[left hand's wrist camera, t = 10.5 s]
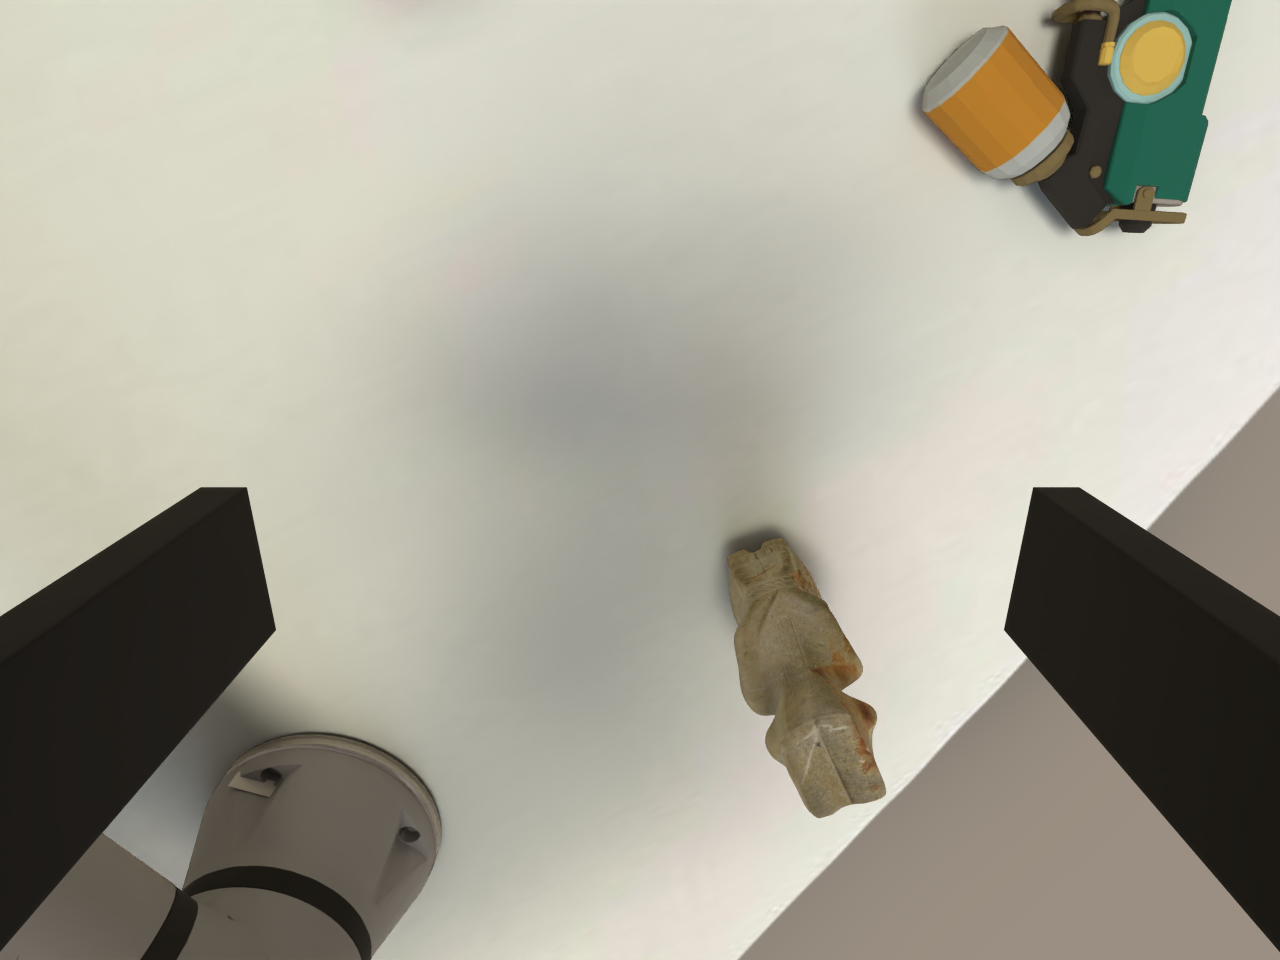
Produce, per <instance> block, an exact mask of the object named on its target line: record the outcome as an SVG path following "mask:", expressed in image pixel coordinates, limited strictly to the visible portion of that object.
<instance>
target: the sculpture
mask: <svg viewBox="0 0 1280 960" xmlns="http://www.w3.org/2000/svg"><path fill="white" fill-rule="evenodd" d="M728 565H729V595H730V600H731V605H732V610H733V614H734V617H735V619H736V622H737V624H738V628H737V630H736V632H735V635H734V646H735V652H736V657H737V662H738V668H739V677H740V685H741V690H742V694H743V697H744V699H745V701H746V702H747V704H748V705H749V707H750V708H751V709H752V710H753V711H754V712H756V713H757V714H759V715H764V716H767V715H775V718H774V720H773V722H772V724H771V725H770V727H769V729H768V731H767V734H766V739H765V743H766V747H767V749H768V751H769V753H770V754H771V756H772V757H773V758H774V759H776V760H777V761H778V762H780V763H781V764H783V765H784V766H785V767H786V768H787V770H788V772H789V775H790V777H791V779H792V781H793V783H794V784H795V786H796V788H797V790H798V792H799V795H800V797H801V799H802V801H803V803H804V804H805V806H806V808H807V809H808V810H809V812H810V813H812V814H813V815H814V816H815V817H817V818H822V817H826V816H829V815H832V814H834V813H835V812H837V811H838V810H839V809H840V808H843V807H845V806H847V805H851V804H861V803H868V802H872V801H875V800H878V799H881V798H882V797H884V796H885V795H886V788H885V784H884V782H883V779H882V777H881V774H880V772H879V769H878V767H877V765H876V762H875V759H874V755H873V749H872V733H873V729H874V727H875V725H876V721H877V714H876V711H875V710H874V709H873V707H871V706H870V705H869V704H867V703H865V702H862V701H860V700H858V699H855V698H853V697H850V696H849V695H847V694H845V693H843V692H842V690H843V689H844V688H846V687H847V686H849V685H850V684H852V683H853V682H855V681H856V680H857V679H858V678H859V677H860V676H861V674H862V672H863V666H862V663H861V661H860V659H859V658H858V656H857V654H856V653H855V651H854V650H853V648H852V646H851V645H850V643H849V641H848V640H847V638H846V637H845V635H844V633H843V632H842V630H841V628H840V626H839V624H838V622H837V620H836V618H835V617H834V615H833V614H832V612H831V611H830V609H829V607H828V605H827V603H826V602H825V601H824V600H822V598H821V596H820V593H819V591H818V589H817V587H816V584H815V582H814V580H813V579H812V577H811V575H810V574H809V572H808V570H807V569H806V568H805V566H804V565H803V563H802V562H801V561H800V559H799V558H798V557H797V556H796V555H795V554H794V553H793V552H792V550H791V549H790V548H789V546H788V545H787V543H786V542H785V541H784V540H783V539H782V538H776V539H772V540H769V541H765V542H763V543H762V546H761V548H760V549H759V550H757V551H755V552H749V551H747V550H746V549H743V550H740V551H738V552H736V553H734V554H732V555H730V556H728Z"/></svg>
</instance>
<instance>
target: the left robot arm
mask: <svg viewBox="0 0 1280 960" xmlns="http://www.w3.org/2000/svg"><path fill="white" fill-rule="evenodd" d="M275 630H276V628H275V623H274V618H273V613H272V608H271V603H270V598H269V594H268V589H267V584H266V579H265V574H264V569H263V564H262V559H261V554H260V550H259V545H258V540H257V535H256V530H255V525H254V520H253V515H252V511H251V506H250V501H249V496H248V491H247V487H201V488H199V489H198V490H196V491H195V492H193V493H191V494H190V495H188V496H187V497H185V498H184V499H182V500H181V501H179V502H177V503H176V504H174V505H173V506H171V507H170V508H168V509H167V510H165V511H163V512H162V513H160V514H159V515H157V516H156V517H154V518H153V519H151V520H149V521H148V522H146V523H145V524H143V525H142V526H140V527H139V528H137V529H135V530H134V531H132V532H131V533H129V534H128V535H126V536H125V537H123V538H121V539H120V540H118V541H117V542H115V543H114V544H112V545H111V546H109V547H107V548H106V549H104V550H103V551H101V552H100V553H98V554H97V555H95V556H93V557H92V558H90V559H89V560H87V561H86V562H84V563H83V564H81V565H80V566H78V567H76V568H75V569H73V570H72V571H70V572H69V573H67V574H66V575H64V576H62V577H61V578H59V579H58V580H56V581H55V582H53V583H52V584H50V585H48V586H47V587H45V588H44V589H42V590H41V591H39V592H38V593H36V594H34V595H33V596H31V597H30V598H28V599H27V600H25V601H24V602H22V603H20V604H19V605H17V606H16V607H14V608H13V609H11V610H10V611H8V612H6V613H5V614H3V615H2V616H0V960H371V958H372V956H373V955H374V953H375V952H376V951H377V949H378V948H379V947H380V945H381V944H382V943H383V941H384V940H385V939H386V937H387V936H388V935H389V933H390V932H391V931H392V929H393V928H394V927H395V925H396V924H397V923H398V921H399V920H400V919H401V917H402V916H403V915H404V913H405V912H406V911H407V909H408V908H409V907H410V905H411V904H412V903H413V901H414V900H415V899H416V897H417V896H418V895H419V893H420V892H421V890H422V888H423V887H424V885H425V883H426V881H427V879H428V877H429V875H430V873H431V870H432V868H433V865H434V862H435V859H436V856H437V853H438V849H439V845H440V839H441V826H440V819H439V815H438V811H437V809H436V806H435V804H434V801H433V800H432V798H431V796H430V794H429V793H428V791H427V790H426V788H425V787H424V785H423V784H422V783H421V782H420V781H419V779H418V778H417V777H416V776H415V775H414V774H413V773H412V772H411V771H410V770H408V769H407V768H406V767H405V766H404V765H402V764H401V763H400V762H398V761H397V760H395V759H394V758H392V757H391V756H389V755H387V754H386V753H384V752H382V751H380V750H378V749H376V748H374V747H371V746H369V745H366V744H364V743H361V742H358V741H355V740H351V739H347V738H343V737H338V736H331V735H321V734H302V735H292V736H286V737H281V738H278V739H274V740H271V741H268V742H265V743H263V744H261V745H259V746H257V747H255V748H253V749H251V750H250V751H248V752H247V753H245V754H244V755H243V756H241V757H240V758H239V759H238V760H237V761H236V762H235V763H234V764H233V765H232V766H231V768H230V769H229V770H228V772H227V773H226V774H225V776H224V777H223V778H222V780H221V781H220V782H219V784H218V785H217V787H216V789H215V790H214V792H213V794H212V796H211V798H210V800H209V802H208V804H207V806H206V809H205V811H204V814H203V818H202V821H201V825H200V829H199V832H198V836H197V839H196V843H195V846H194V850H193V853H192V857H191V861H190V864H189V868H188V871H187V875H186V878H185V882H184V885H183V888H182V890H180V889H179V888H177V887H176V886H175V885H174V884H173V883H171V882H170V881H169V880H167V879H166V878H164V877H163V876H162V875H160V874H159V873H157V872H156V871H155V870H153V869H152V868H150V867H149V866H148V865H146V864H145V863H143V862H142V861H141V860H139V859H138V858H136V857H135V856H134V855H132V854H131V853H129V852H128V851H127V850H125V849H124V848H122V847H121V846H120V845H118V844H117V843H115V842H114V841H113V840H111V839H110V838H108V837H107V836H106V835H104V834H103V833H102V832H103V831H104V830H105V829H106V828H107V827H108V825H109V824H110V823H111V822H112V821H113V820H114V818H115V817H116V816H117V815H118V814H119V813H120V811H121V810H122V809H123V808H124V807H125V806H126V804H127V803H128V802H129V801H130V800H131V799H132V797H133V796H134V795H135V794H136V793H137V792H138V790H139V789H140V788H141V787H142V786H143V785H144V783H145V782H146V781H147V780H148V779H149V778H150V776H151V775H152V774H153V773H154V772H155V771H156V769H157V768H158V767H159V766H160V765H161V764H162V762H163V761H164V760H165V759H166V758H167V757H168V755H169V754H170V753H171V752H172V751H173V750H174V748H175V747H176V746H177V745H178V744H179V743H180V741H181V740H182V739H183V738H184V737H185V736H186V734H187V733H188V732H189V731H190V730H191V729H192V727H193V726H194V725H195V724H196V723H197V722H198V720H199V719H200V718H201V717H202V716H203V715H204V713H205V712H206V711H207V710H208V709H209V708H210V706H211V705H212V704H213V703H214V702H215V701H216V699H217V698H218V697H219V696H220V695H221V694H222V692H223V691H224V690H225V689H226V688H227V687H228V685H229V684H230V683H231V682H232V681H233V679H234V678H235V677H236V676H237V675H238V674H239V672H240V671H241V670H242V669H243V668H244V667H245V665H246V664H247V663H248V662H249V661H250V660H251V658H252V657H253V656H254V655H255V654H256V653H257V651H258V650H259V649H260V648H261V647H262V646H263V644H264V643H265V642H266V641H267V640H268V639H269V637H270V636H271V635H272V634H273V633H274V632H275ZM1004 630H1005V632H1006V633H1007V634H1008V635H1009V636H1010V637H1011V639H1012V640H1013V641H1014V642H1015V643H1016V644H1017V646H1018V647H1019V648H1020V649H1021V650H1022V651H1023V653H1024V654H1025V655H1026V656H1027V657H1028V658H1029V660H1030V661H1031V662H1032V663H1033V664H1034V665H1035V667H1036V668H1037V669H1038V670H1039V671H1040V672H1041V674H1042V675H1043V676H1044V677H1045V678H1046V679H1047V681H1048V682H1049V683H1050V684H1051V685H1052V687H1053V688H1054V689H1055V690H1056V691H1057V692H1058V694H1059V695H1060V696H1061V697H1062V698H1063V699H1064V701H1065V702H1066V703H1067V704H1068V705H1069V706H1070V708H1071V709H1072V710H1073V711H1074V712H1075V713H1076V715H1077V716H1078V717H1079V718H1080V719H1081V720H1082V722H1083V723H1084V724H1085V725H1086V726H1087V727H1088V729H1089V730H1090V731H1091V732H1092V733H1093V734H1094V736H1095V737H1096V738H1097V739H1098V740H1099V741H1100V743H1101V744H1102V745H1103V746H1104V747H1105V748H1106V750H1107V751H1108V752H1109V753H1110V754H1111V755H1112V757H1113V758H1114V759H1115V760H1116V761H1117V762H1118V764H1119V765H1120V766H1121V767H1122V768H1123V769H1124V771H1125V772H1126V773H1127V774H1128V775H1129V776H1130V778H1131V779H1132V780H1133V781H1134V782H1135V783H1136V785H1137V786H1138V787H1139V788H1140V789H1141V790H1142V792H1143V793H1144V794H1145V795H1146V796H1147V797H1148V799H1149V800H1150V801H1151V802H1152V803H1153V804H1154V806H1155V807H1156V808H1157V809H1158V810H1159V811H1160V813H1161V814H1162V815H1163V816H1164V817H1165V818H1166V820H1167V821H1168V822H1169V823H1170V824H1171V825H1172V827H1173V828H1174V829H1175V830H1176V831H1177V832H1178V834H1179V835H1180V836H1181V837H1182V838H1183V839H1184V841H1185V842H1186V843H1187V844H1188V845H1189V846H1190V848H1191V849H1192V850H1193V851H1194V852H1195V853H1196V855H1197V856H1198V857H1199V858H1200V859H1201V860H1202V862H1203V863H1204V864H1205V865H1206V866H1207V868H1208V869H1209V870H1210V871H1211V872H1212V873H1213V875H1214V876H1215V877H1216V878H1217V879H1218V880H1219V881H1220V883H1221V884H1222V885H1223V886H1224V887H1225V889H1226V890H1227V891H1228V892H1229V893H1230V894H1231V896H1232V897H1233V898H1234V899H1235V900H1236V901H1237V903H1238V904H1239V905H1240V906H1241V907H1242V908H1243V910H1244V911H1245V912H1246V913H1247V914H1248V915H1249V917H1250V918H1251V919H1252V920H1253V921H1254V922H1255V924H1256V925H1257V926H1258V927H1259V928H1260V929H1261V931H1262V932H1263V933H1264V934H1265V935H1266V936H1267V938H1268V939H1269V940H1270V941H1271V942H1272V943H1273V945H1274V946H1275V947H1276V948H1277V949H1278V950H1279V952H1280V616H1278V615H1277V614H1275V613H1273V612H1272V611H1270V610H1269V609H1267V608H1266V607H1264V606H1263V605H1261V604H1260V603H1258V602H1256V601H1255V600H1253V599H1252V598H1250V597H1249V596H1247V595H1246V594H1244V593H1242V592H1241V591H1239V590H1238V589H1236V588H1235V587H1233V586H1232V585H1230V584H1228V583H1227V582H1225V581H1224V580H1222V579H1221V578H1219V577H1218V576H1216V575H1214V574H1213V573H1211V572H1210V571H1208V570H1207V569H1205V568H1204V567H1202V566H1200V565H1199V564H1197V563H1196V562H1194V561H1193V560H1191V559H1190V558H1188V557H1186V556H1185V555H1183V554H1182V553H1180V552H1179V551H1177V550H1176V549H1174V548H1172V547H1171V546H1169V545H1168V544H1166V543H1165V542H1163V541H1162V540H1160V539H1159V538H1157V537H1155V536H1154V535H1152V534H1151V533H1149V532H1148V531H1146V530H1145V529H1143V528H1141V527H1140V526H1138V525H1137V524H1135V523H1134V522H1132V521H1131V520H1129V519H1127V518H1126V517H1124V516H1123V515H1121V514H1120V513H1118V512H1117V511H1115V510H1113V509H1112V508H1110V507H1109V506H1107V505H1106V504H1104V503H1103V502H1101V501H1099V500H1098V499H1096V498H1095V497H1093V496H1092V495H1090V494H1089V493H1087V492H1085V491H1084V490H1082V489H1081V488H1079V487H1033V491H1032V496H1031V501H1030V506H1029V511H1028V515H1027V520H1026V525H1025V530H1024V535H1023V540H1022V545H1021V550H1020V554H1019V559H1018V564H1017V569H1016V574H1015V579H1014V584H1013V589H1012V594H1011V598H1010V603H1009V608H1008V613H1007V618H1006V623H1005V628H1004Z"/></svg>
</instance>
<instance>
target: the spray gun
mask: <svg viewBox="0 0 1280 960" xmlns="http://www.w3.org/2000/svg"><path fill="white" fill-rule="evenodd" d="M1231 1H1232V0H1131V1H1129V2H1128V3H1126V4H1125V5H1123V6H1121V7H1120V8H1119V5H1118V3H1117V2H1116V1H1114V0H1073V1H1070V2H1068V3H1066V4H1064V5H1062V6H1061V7H1059V8H1058V9H1057V10H1055V11H1054V12H1053V14H1052V19H1053V20H1054V21H1056V22H1059V23H1072V24H1073V26H1072V31H1071V36H1070V41H1069V45H1068V50H1067V55H1066V60H1065V65H1064V69H1063V74H1062V79H1061V82H1062V84H1063V87H1064V89H1065V91H1066V94H1067V96H1068V99H1069V101H1070V104H1071V106H1072V109H1073V111H1074V115H1073V121H1072V127H1071V133H1070V131H1069V130H1067V126H1068V122H1069V118H1070V112H1069V108H1068V106H1067V103H1066V100H1065V98H1064V95H1063V94H1062V93H1061V91H1060V90H1059V89H1058V88H1057V86H1056V85H1055V84H1054V83H1053V82H1052V80H1051V79H1050V78H1049V77H1048V76H1047V74H1046V73H1045V72H1044V71H1043V69H1042V68H1041V67H1040V66H1039V65H1038V63H1037V62H1036V61H1035V60H1034V58H1033V57H1032V56H1031V55H1030V54H1029V52H1028V51H1027V50H1026V49H1025V48H1024V46H1023V45H1022V44H1021V43H1020V41H1019V40H1018V39H1017V38H1016V37H1015V35H1014V34H1013V33H1012V32H1011V31H1010V29H1009V28H1008V27H1006V26H1000V27H994V28H983V29H981V30H980V31H978V32H977V33H975V34H974V35H973V36H972V37H971V38H969V39H968V40H967V41H966V42H965V43H964V44H962V45H961V46H960V47H959V48H958V49H957V50H956V51H955V52H954V53H953V54H952V55H951V56H950V57H949V58H948V59H947V60H946V62H945V63H944V64H943V65H942V66H941V67H940V68H939V69H938V71H937V72H936V73H935V74H934V76H933V77H932V78H931V79H930V81H929V82H928V84H927V85H926V87H925V89H924V96H923V106H922V109H923V112H924V113H925V114H926V115H927V116H928V117H929V118H930V119H931V120H932V122H933V123H934V124H935V125H936V126H937V127H938V128H939V129H940V130H941V131H942V132H943V133H944V134H945V135H946V136H947V137H948V138H949V139H950V140H951V141H952V142H953V144H954V145H955V146H956V147H957V148H958V149H959V150H960V151H961V152H962V153H963V154H964V155H965V156H966V157H967V158H968V159H969V160H970V161H971V162H972V163H973V164H974V165H975V167H976V168H977V169H978V170H979V171H981V172H983V173H984V174H986V175H988V176H990V177H992V178H995V179H1004V178H1010V179H1011V180H1012V181H1013V182H1014V183H1015V184H1016V185H1018V186H1025V185H1028V184H1031V183H1033V182H1036V181H1038V183H1039V186H1040V188H1041V190H1042V192H1043V193H1044V194H1045V195H1046V197H1047V198H1048V199H1049V200H1050V202H1051V203H1052V204H1053V205H1054V207H1055V208H1056V209H1057V210H1058V212H1059V213H1060V214H1061V215H1062V217H1063V218H1064V219H1065V220H1066V222H1067V223H1068V224H1069V225H1070V227H1071V228H1072V229H1074V230H1075V231H1076V232H1077V233H1078V234H1079V235H1081V236H1090V235H1094V234H1096V233H1098V232H1100V231H1102V230H1103V229H1104V228H1105V227H1107V226H1108V225H1109V224H1110V223H1111V222H1112V221H1119V226H1120V228H1121V230H1122V232H1129V233H1144V232H1145V231H1146V230H1147V229H1148V228H1150V227H1151V225H1152V223H1153V224H1181V223H1184V222H1185V219H1186V215H1187V214H1186V213H1178V212H1162V211H1155V209H1156V206H1161V207H1171V206H1181V205H1182V203H1183V202H1186V201H1187V200H1188V196H1189V192H1190V189H1191V185H1192V181H1193V178H1194V174H1195V170H1196V167H1197V163H1198V159H1199V156H1200V152H1201V148H1202V145H1203V141H1204V138H1205V134H1206V130H1207V127H1208V120H1207V118H1206V116H1204V115H1202V113H1203V109H1204V105H1205V102H1206V98H1207V94H1208V90H1209V86H1210V83H1211V79H1212V75H1213V71H1214V67H1215V63H1216V60H1217V56H1218V52H1219V48H1220V44H1221V41H1222V37H1223V33H1224V29H1225V25H1226V21H1227V18H1228V17H1227V16H1228V13H1229V9H1230V5H1231ZM1100 12H1105V13H1107V16H1105V17H1104V18H1103V17H1102V16H1101V14H1100ZM1105 206H1110V210H1109V211H1101V210H1102V209H1103V208H1104V207H1105Z"/></svg>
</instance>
